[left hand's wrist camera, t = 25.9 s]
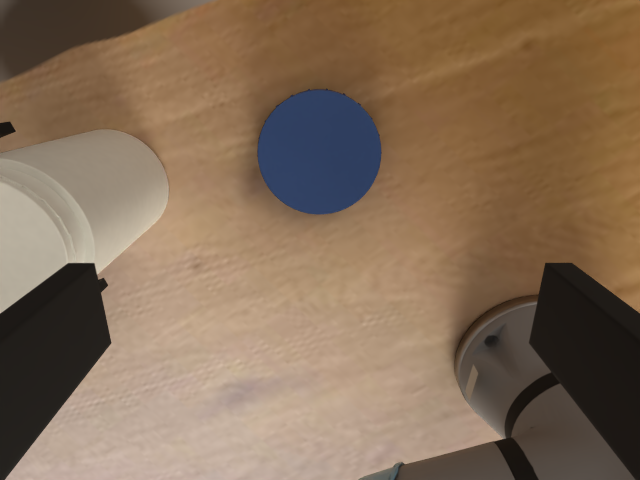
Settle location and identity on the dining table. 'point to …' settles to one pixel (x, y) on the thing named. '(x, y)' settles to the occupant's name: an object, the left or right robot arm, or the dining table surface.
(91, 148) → the jar
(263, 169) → the lid
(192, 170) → the dining table surface
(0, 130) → the right robot arm
